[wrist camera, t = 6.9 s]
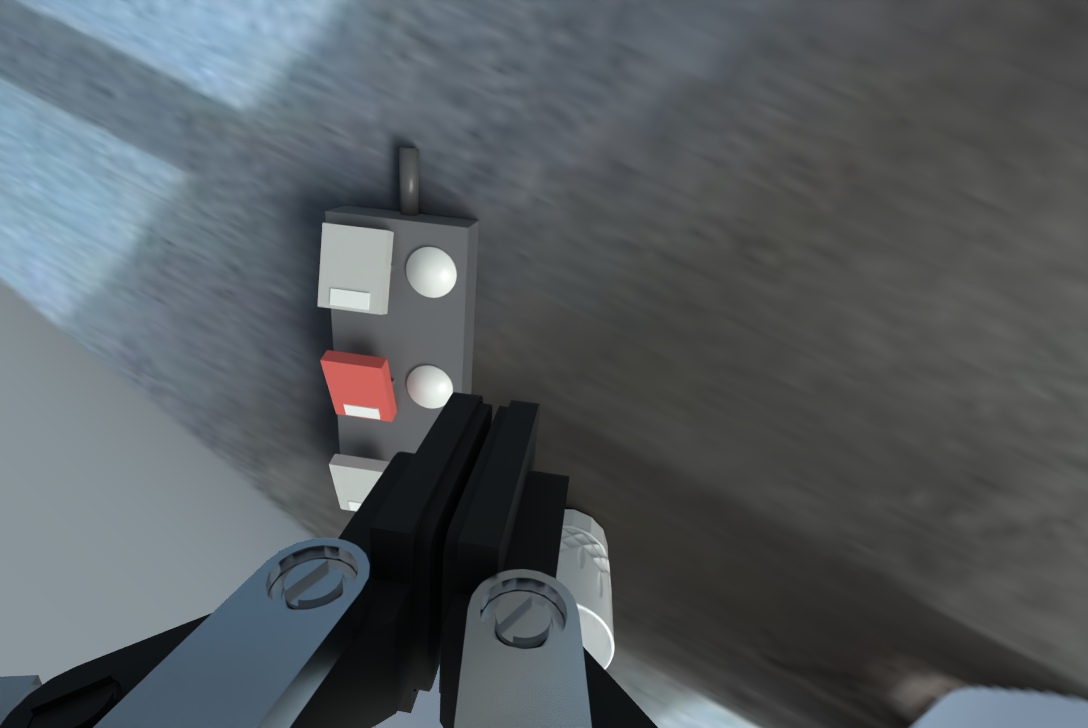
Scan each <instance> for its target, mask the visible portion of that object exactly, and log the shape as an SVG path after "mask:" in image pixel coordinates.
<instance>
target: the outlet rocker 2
mask: <svg viewBox="0 0 1088 728" xmlns="http://www.w3.org/2000/svg"><path fill="white" fill-rule="evenodd" d="M320 361H321V365H322V368H323V371H324V375H325V378H326V382H327V385H328V388H329V392H330V395H331V398H332V402H333V405H334V408H335V412H336V414H340V415H347V416H354V417H361V418H368V419H375V420H382V421H389V422H392V421H393V419H394V417H395V415H396V413H397V409H396V403H395V398H394V393H393V387H392V382H391V377H390V371H389V366H388V361H387V358H382V357H374V356H367V355H360V354H352V353H345V352H338V351H331V350H327V351H326V352H325V354H324V355H323V357H322V358H321V360H320Z"/></svg>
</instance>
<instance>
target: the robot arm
mask: <svg viewBox="0 0 1088 728" xmlns="http://www.w3.org/2000/svg"><path fill="white" fill-rule="evenodd" d="M539 412H540V404H536V403H529V402H522V401H514V400H512V401H511V402H510V405H509V407H504V406H499V408H498V411H497V413H496V415H495V418H494V420H493V423H492V425H491V422H492V405H490V404H483V397H482V396H479V395H472V394H465V393H458V392H453V393H452V394H451V396H450V398H449V399H448V401H447V403H446V404H445V406H444V407H443V409H442V411H441V412H440V414H439V416H438V417H437V419H436V420H435V422H434V424H433V425H432V427H431V428H430V430H429V432H428V433H427V435H426V437H425V438H424V440H423V441H422V443H421V445H420V446H419V448H418V450H417V451H416V453H409V452H403V451H400V452H397V454H396V455H395V456H394V457H393V458H392V460H391V461H390V463H389V464H388V466H387V467H386V469H385V470H384V472H383V473H382V475H381V476H380V478H379V479H378V481H377V482H376V483H375V485H374V486H373V488H372V489H371V491H370V492H369V494H368V495H367V497H366V498H365V500H364V501H363V503H362V504H361V506H360V507H359V509H358V510H357V512H356V513H355V514H354V516H353V517H352V519H351V520H350V522H349V523H348V525H347V526H346V528H345V529H344V531H343V532H342V534H341V535H340V537H339V538H338V539H335V538H317V539H310V540H307V541H303V542H299V543H296V544H293V545H292V546H289V547H287V548H285V549H283V550H281V551H279V552H278V553H277V554H276V555H274V556H273V557H271V558H270V559H269V560H267V561H266V562H265V563H264V564H263V565H262V566H261V567H260V568H259V569H258V570H257V571H256V572H255V573H254V574H253V575H252V576H251V577H249V578H248V579H247V580H246V581H245V582H244V583H243V584H242V585H241V586H240V587H239V588H238V589H237V590H236V591H235V592H234V593H233V594H232V595H231V596H230V597H229V598H228V599H226V600H225V601H224V603H222V604H221V605H220V606H219V607H218V608H217V609H216V610H215V611H214V612H213V613H211V614H208V615H206V616H203V617H201V618H198V619H196V620H193V621H191V622H188V623H186V624H183V625H180V626H178V627H176V628H173V629H170V630H168V631H165V632H163V633H160V634H158V635H155V636H152V637H150V638H147V639H145V640H142V641H140V642H137V643H135V644H132V645H130V646H127V647H125V648H122V649H119V650H117V651H115V652H112V653H110V654H107V655H104V656H102V657H99V658H97V659H94V660H92V661H89V662H86V663H84V664H81V665H79V666H77V667H74V668H72V669H70V670H68V671H66V672H64V673H62V674H60V675H58V676H56V677H54V678H52V679H50V680H49V681H47V682H46V683H45V684H43V685H42V683H41V681H40V678H39V676H38V675H31V676H9V677H0V728H375V726H376V725H377V724H379V723H381V722H382V721H384V720H385V719H387V718H389V717H391V716H392V715H394V714H396V712H397V711H403V712H408V713H411V711H412V708H413V705H414V702H415V700H416V697H417V694H418V691H419V690H423V691H430V690H431V688H432V685H433V683H434V680H435V677H436V674H437V670H438V667H439V665H440V680H439V681H440V682H439V693H440V694H441V697H440V723H441V724H442V726H443V728H658V727H657V726H656V725H655V724H654V723H653V722H652V721H651V720H650V718H649V717H648V716H647V715H646V714H645V713H644V712H643V711H642V710H641V709H640V708H639V706H638V705H637V704H636V703H635V702H634V701H633V700H632V699H631V698H630V697H629V696H628V694H627V693H626V692H625V691H624V690H623V689H622V688H621V687H620V686H619V685H618V684H617V683H616V681H615V680H614V679H613V678H612V677H611V676H610V675H609V674H608V673H607V672H606V671H605V669H604V668H603V667H602V666H601V665H600V664H599V663H598V662H597V661H596V660H595V659H594V657H593V656H592V655H591V654H590V653H589V652H588V651H587V650H586V649H585V648H584V647H583V643H582V634H581V625H580V616H579V611H578V607H577V604H576V601H575V599H574V597H573V596H572V594H571V593H570V592H569V590H568V589H567V587H565V586H564V585H563V584H561V583H560V582H559V581H558V580H556V575H557V567H558V559H559V552H560V544H561V536H562V528H563V521H564V513H565V505H566V498H567V490H568V482H569V476H563V475H556V474H550V473H543V472H536V471H533V470H534V460H535V451H536V441H537V432H538V422H539Z"/></svg>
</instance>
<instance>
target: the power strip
mask: <svg viewBox="0 0 1088 728" xmlns="http://www.w3.org/2000/svg"><path fill="white" fill-rule="evenodd" d="M399 191H400V211H393V210H385V209H376V208H368V207H359V206H351V205H345V206H341V207H338V208H334V209H330V210H327V211H325V221H326V223H329V224H337V225H346V226H354V227H362V228H371V229H379V230H387V231H391V232H394V236H393V248H392V260H391V273H390V285H389V298H388V310H387V314H383V315H379V314H371V313H364V312H356V311H348V310H341V309H333V308H331V318H332V334H333V350H334V351H338V352H345V353H352V354H360V355H367V356H374V357H382V358H387V361H388V366H389V371H390V377H391V382H392V387H393V393H394V398H395V403H396V409H397V413H396V415H395V417H394V419H393V421H392V422H389V421H382V420H375V419H368V418H361V417H354V416H347V415H340V414H338V430H339V446H340V454H341V455H348V456H355V457H361V458H368V459H375V460H381V461H388V462H390V461H391V460H392V458H393V457H394V456H395V455H396V454H397V452H400V451H403V452H409V453H416V451H417V450H418V448H419V446H420V445H421V443H422V441H423V440H424V438H425V437H426V435H427V433H428V432H429V430H430V428H431V427H432V425H433V424H434V422H435V420H436V419H437V417H438V416H439V414H440V412H441V411H442V409H443V407H444V406H445V404H446V403H447V401H448V399H449V398H450V396H451V394H452V393H453V392H458V393H465V394H471V386H472V365H473V344H474V322H475V301H476V280H477V259H478V238H479V220H470V219H462V218H453V217H445V216H436V215H427V214H419V149H417V148H409V147H399Z"/></svg>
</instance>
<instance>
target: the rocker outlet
mask: <svg viewBox="0 0 1088 728" xmlns="http://www.w3.org/2000/svg"><path fill="white" fill-rule="evenodd" d="M389 463H390V462H388V461H381V460H375V459H368V458H361V457H355V456H348V455H341V454H335V455H334V456H333V458H332V460H331V461H330V463H329V467H330V470H331V474H332V478H333V481H334V485H335V489H336V492H337V496H338V500H339V503H340V507H341V509H345V510H351V511H357V510H358V509H359V507H360V506H361V504H362V503H363V501H364V500H365V498H366V497H367V495H368V494H369V492H370V491H371V489H372V488H373V486H374V485H375V483H376V482H377V481H378V479H379V478H380V476H381V475H382V473H383V472H384V470H385V469H386V467H387V466H388V464H389Z"/></svg>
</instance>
